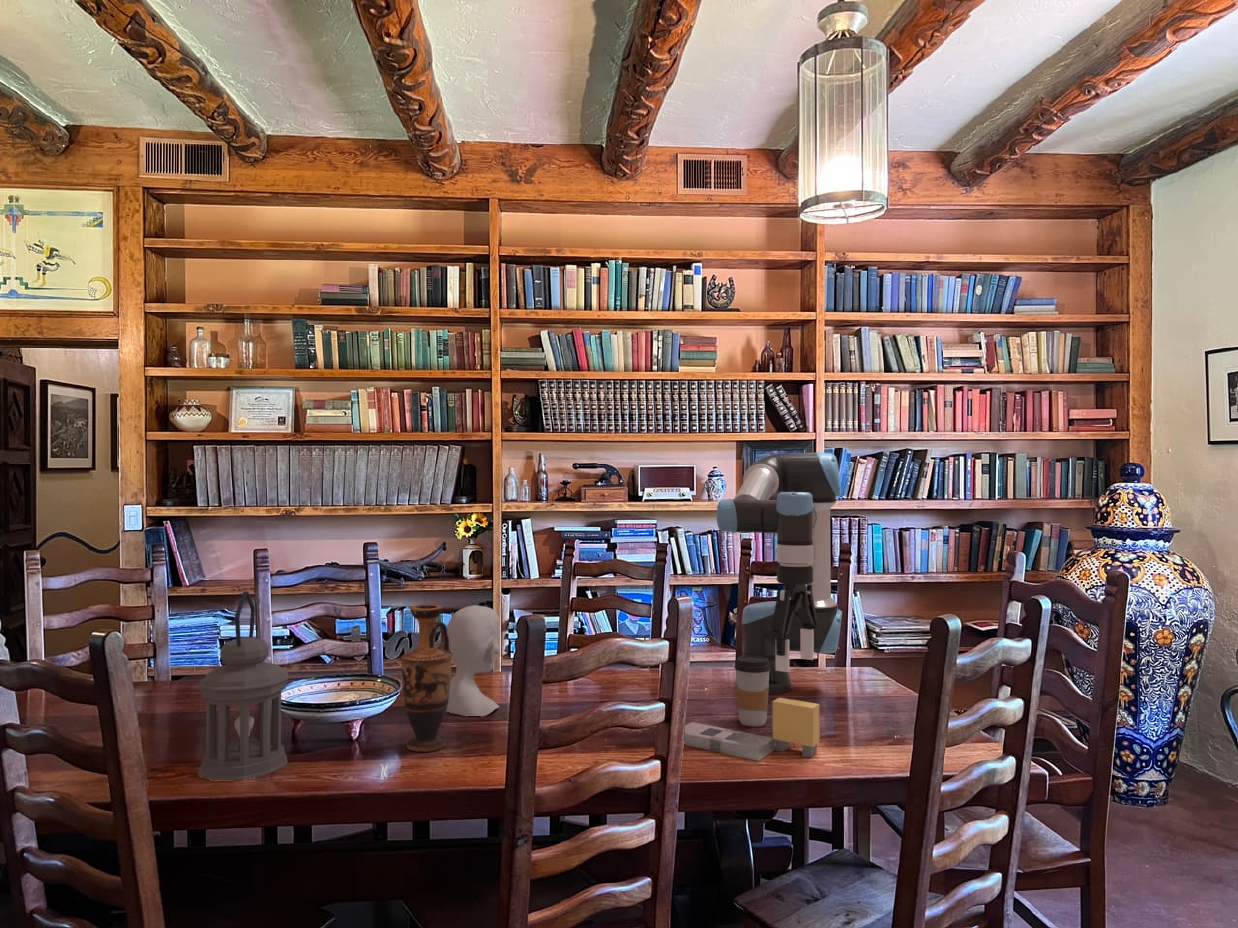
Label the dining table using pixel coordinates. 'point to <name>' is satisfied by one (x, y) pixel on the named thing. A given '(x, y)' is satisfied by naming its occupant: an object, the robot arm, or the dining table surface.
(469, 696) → the head bust
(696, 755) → the dining table surface
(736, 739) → the grey slotted base plate
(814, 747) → the yellow block
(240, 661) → the lantern
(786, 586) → the robot arm
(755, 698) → the coffee cup
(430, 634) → the vase
